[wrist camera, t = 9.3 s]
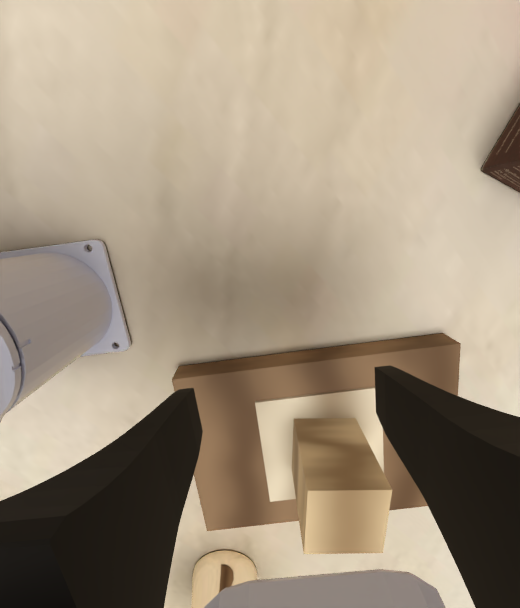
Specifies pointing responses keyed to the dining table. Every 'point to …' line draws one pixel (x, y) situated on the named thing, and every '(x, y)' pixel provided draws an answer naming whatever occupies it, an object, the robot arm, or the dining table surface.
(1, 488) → the dining table surface
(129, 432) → the robot arm
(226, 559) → the beer glass
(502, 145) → the box
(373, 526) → the maple block
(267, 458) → the walnut board
